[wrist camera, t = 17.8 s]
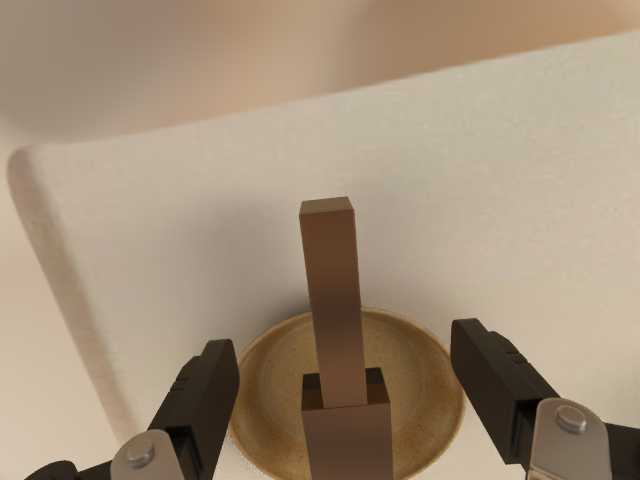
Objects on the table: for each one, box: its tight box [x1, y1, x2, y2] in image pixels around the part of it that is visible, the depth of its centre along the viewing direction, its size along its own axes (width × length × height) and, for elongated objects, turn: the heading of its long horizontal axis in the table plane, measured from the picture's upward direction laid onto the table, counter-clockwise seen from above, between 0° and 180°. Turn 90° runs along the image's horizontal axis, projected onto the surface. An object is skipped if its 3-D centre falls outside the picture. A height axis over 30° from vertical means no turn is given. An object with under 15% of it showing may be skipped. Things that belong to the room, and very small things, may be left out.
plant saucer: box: [228, 307, 466, 480], centre depth 20 cm, size 15×15×3 cm
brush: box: [299, 197, 394, 480], centre depth 16 cm, size 17×4×3 cm, turn 6°
